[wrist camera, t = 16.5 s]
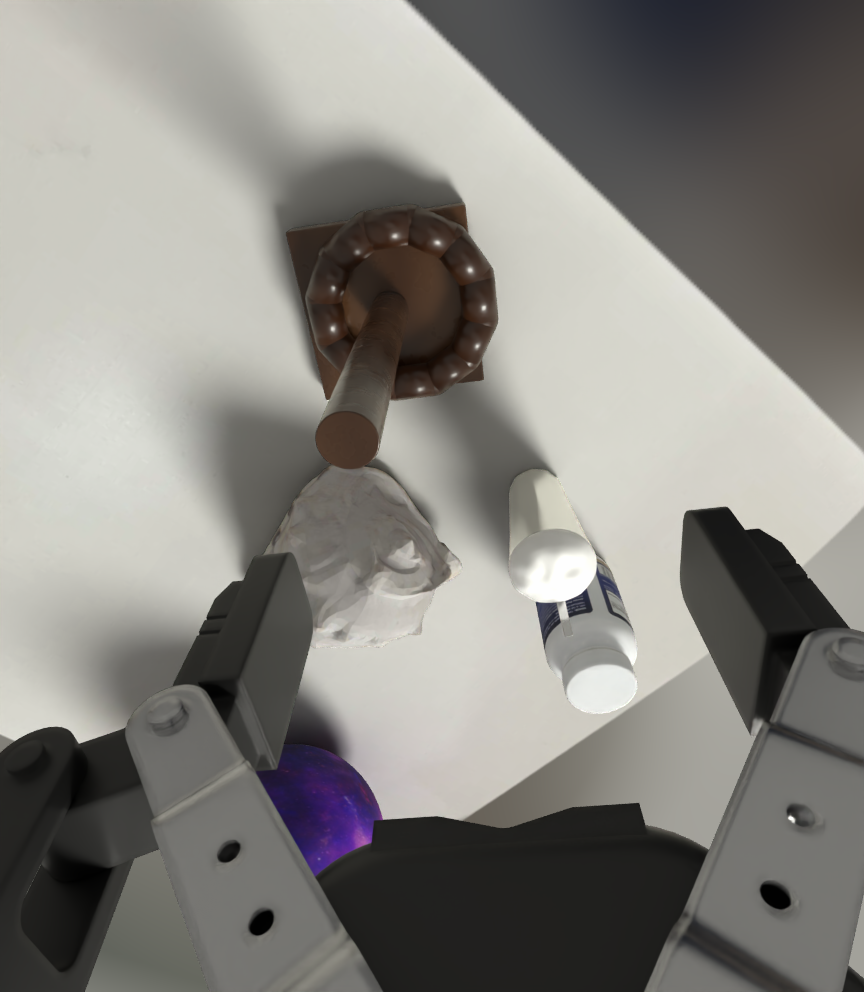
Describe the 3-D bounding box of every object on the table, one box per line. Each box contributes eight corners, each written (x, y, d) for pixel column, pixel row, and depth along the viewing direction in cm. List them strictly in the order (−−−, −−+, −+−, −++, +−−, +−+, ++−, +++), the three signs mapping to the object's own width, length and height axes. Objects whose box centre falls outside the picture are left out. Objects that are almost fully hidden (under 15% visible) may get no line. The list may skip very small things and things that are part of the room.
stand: (329, 393, 37) (248, 571, 22) (290, 228, 33) (157, 316, 18) (483, 373, 36) (505, 545, 21) (464, 201, 32) (476, 270, 17)
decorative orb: (339, 837, 59) (308, 1036, 46) (189, 778, 55) (109, 976, 43) (427, 750, 53) (419, 954, 40) (264, 676, 49) (196, 874, 36)
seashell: (246, 599, 45) (198, 712, 37) (302, 435, 39) (259, 524, 30) (406, 651, 47) (397, 768, 39) (485, 503, 41) (494, 605, 32)
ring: (334, 401, 36) (329, 414, 35) (291, 220, 31) (282, 225, 30) (503, 379, 35) (505, 391, 34) (485, 190, 30) (487, 193, 29)
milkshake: (509, 537, 42) (525, 644, 33) (491, 467, 39) (503, 564, 31) (578, 522, 41) (612, 628, 33) (564, 451, 39) (597, 544, 30)
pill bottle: (525, 606, 45) (543, 718, 36) (540, 544, 42) (562, 649, 34) (601, 614, 45) (636, 726, 37) (620, 552, 42) (663, 658, 34)
